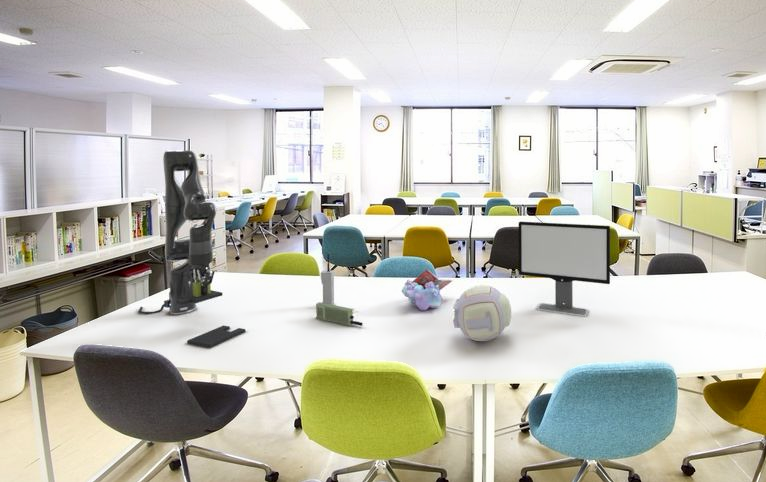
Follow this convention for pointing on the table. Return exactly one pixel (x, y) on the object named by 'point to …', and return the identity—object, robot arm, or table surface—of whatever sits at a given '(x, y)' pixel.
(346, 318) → the handheld radio
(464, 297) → the paneled ball
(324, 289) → the vintage mobile phone
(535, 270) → the computer monitor
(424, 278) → the lavender knobbly lump
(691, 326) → the table surface
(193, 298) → the black pad
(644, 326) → the table surface
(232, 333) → the charcoal pad
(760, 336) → the table surface
